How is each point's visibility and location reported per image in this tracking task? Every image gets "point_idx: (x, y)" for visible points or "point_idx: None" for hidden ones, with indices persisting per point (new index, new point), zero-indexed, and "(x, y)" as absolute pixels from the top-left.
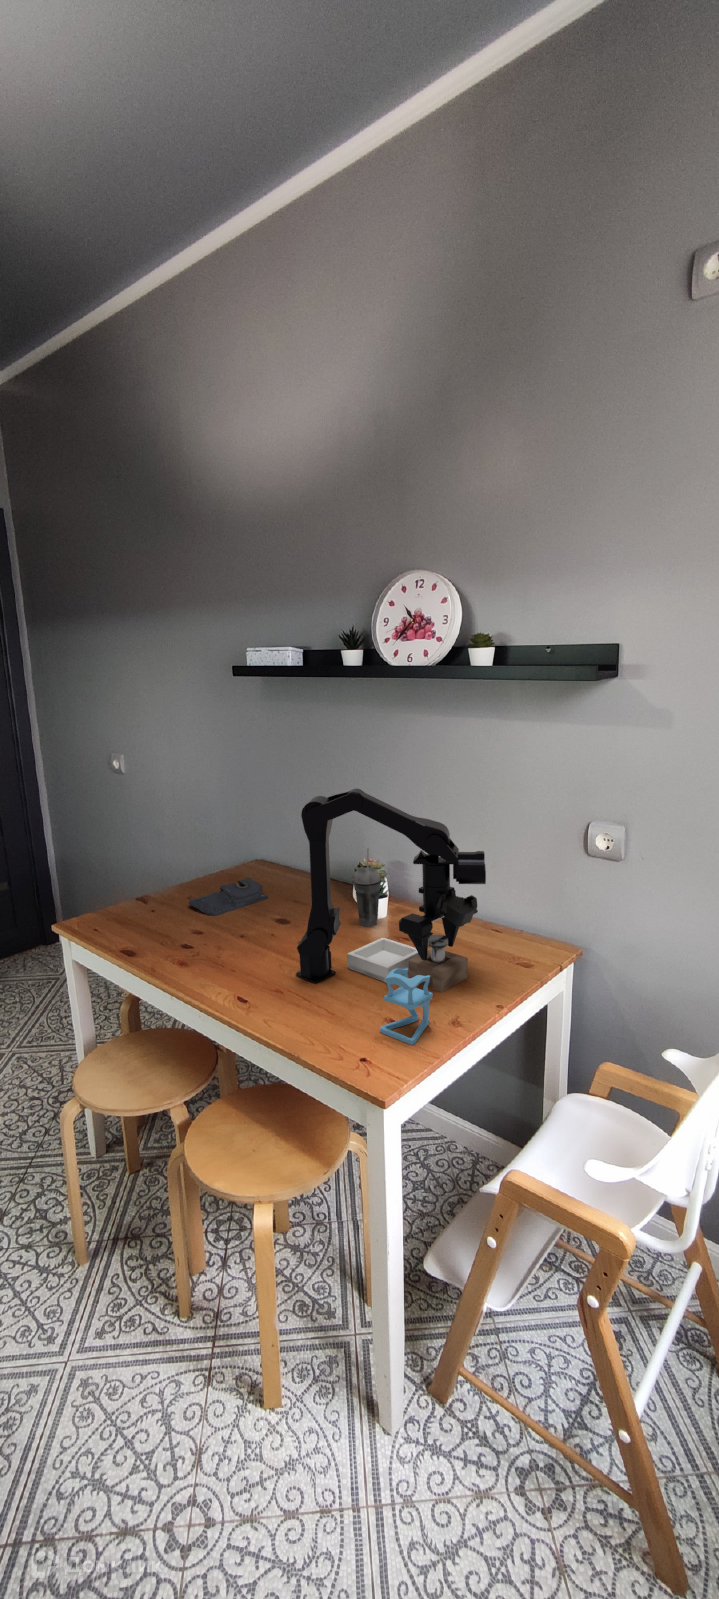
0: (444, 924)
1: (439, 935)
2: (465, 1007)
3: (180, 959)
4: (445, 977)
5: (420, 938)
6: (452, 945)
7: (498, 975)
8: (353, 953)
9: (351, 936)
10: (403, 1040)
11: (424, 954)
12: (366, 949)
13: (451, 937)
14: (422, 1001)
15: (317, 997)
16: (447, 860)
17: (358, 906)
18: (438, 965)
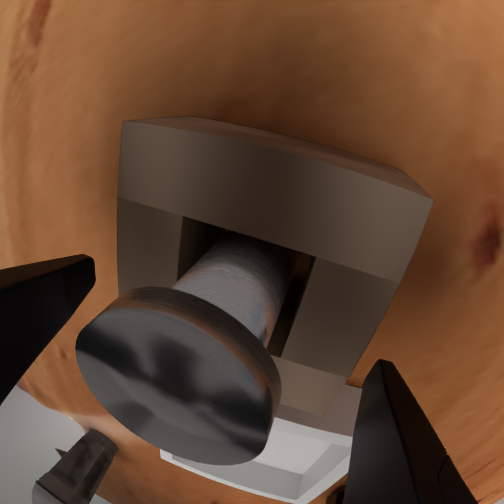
0: (4, 384)
1: (103, 393)
2: (487, 30)
3: None
4: (385, 174)
5: None
6: (83, 257)
7: (121, 22)
8: (297, 499)
9: (163, 465)
10: None
11: (414, 404)
12: (245, 480)
13: (44, 292)
14: None
15: (474, 463)
16: None
17: (101, 479)
18: (334, 260)
